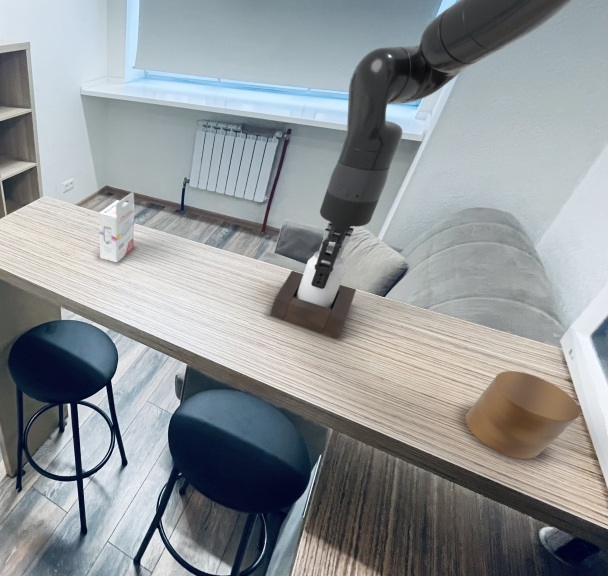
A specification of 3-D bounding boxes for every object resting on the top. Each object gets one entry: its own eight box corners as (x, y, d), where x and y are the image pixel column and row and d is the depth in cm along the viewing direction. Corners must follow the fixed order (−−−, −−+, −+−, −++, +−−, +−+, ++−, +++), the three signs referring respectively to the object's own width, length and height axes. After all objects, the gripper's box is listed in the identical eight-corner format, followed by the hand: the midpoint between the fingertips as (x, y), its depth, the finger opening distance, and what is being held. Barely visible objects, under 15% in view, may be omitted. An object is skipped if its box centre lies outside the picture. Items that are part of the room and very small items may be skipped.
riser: (546, 436, 56) (586, 398, 51) (531, 471, 52) (573, 432, 47) (475, 400, 61) (505, 362, 56) (456, 429, 57) (487, 390, 52)
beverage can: (314, 324, 76) (334, 270, 69) (286, 307, 80) (302, 254, 73) (334, 313, 78) (356, 260, 71) (306, 297, 83) (324, 245, 76)
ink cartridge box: (116, 243, 103) (116, 187, 94) (133, 247, 100) (136, 190, 92) (98, 258, 97) (97, 199, 88) (116, 263, 94) (117, 204, 86)
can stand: (349, 305, 80) (356, 289, 78) (337, 338, 72) (345, 321, 70) (287, 286, 86) (291, 270, 84) (270, 315, 78) (274, 298, 76)
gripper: (374, 212, 59) (336, 304, 68) (385, 182, 68) (351, 266, 78) (318, 200, 62) (289, 289, 72) (336, 173, 72) (309, 255, 81)
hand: (322, 277), depth 75 cm, fingers closed on beverage can, 6 cm apart
